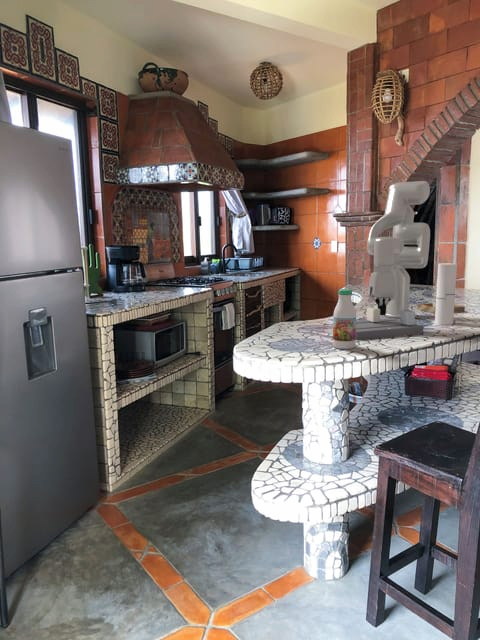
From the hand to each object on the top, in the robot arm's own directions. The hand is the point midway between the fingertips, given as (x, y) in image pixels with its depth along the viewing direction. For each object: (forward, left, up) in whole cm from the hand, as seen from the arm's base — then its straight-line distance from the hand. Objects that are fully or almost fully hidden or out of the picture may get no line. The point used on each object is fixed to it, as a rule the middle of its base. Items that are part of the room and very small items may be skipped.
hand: (381, 314), depth 188 cm
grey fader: (+10, +5, -2) cm, 11 cm away
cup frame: (-28, +49, -6) cm, 57 cm away
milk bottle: (+22, -28, -6) cm, 36 cm away
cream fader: (0, -4, -2) cm, 4 cm away
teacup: (-26, +48, -6) cm, 55 cm away
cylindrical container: (-1, +30, -6) cm, 31 cm away
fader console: (+5, -5, -6) cm, 9 cm away
